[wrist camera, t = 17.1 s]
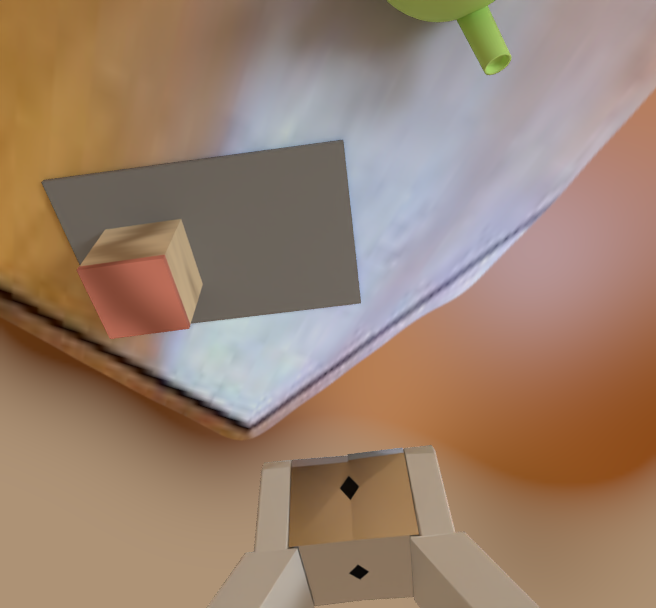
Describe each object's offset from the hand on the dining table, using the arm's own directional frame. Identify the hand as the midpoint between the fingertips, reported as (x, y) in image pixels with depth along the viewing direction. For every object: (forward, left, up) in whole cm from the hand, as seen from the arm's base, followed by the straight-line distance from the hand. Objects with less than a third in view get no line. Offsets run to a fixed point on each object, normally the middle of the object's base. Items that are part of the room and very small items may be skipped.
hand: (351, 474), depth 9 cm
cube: (+15, +11, -25) cm, 31 cm away
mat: (+10, +11, -31) cm, 34 cm away
